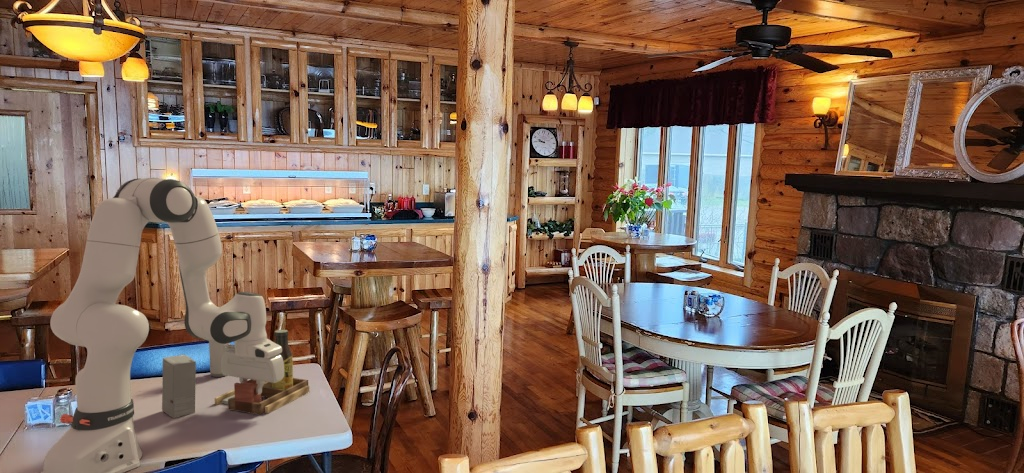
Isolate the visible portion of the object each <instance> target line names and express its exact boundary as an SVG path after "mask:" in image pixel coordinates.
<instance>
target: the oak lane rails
mask: <svg viewBox="0 0 1024 473" xmlns="http://www.w3.org/2000/svg"><path fill="white" fill-rule="evenodd" d="M308 392H309V393H310V385H308V386H305V387H303V388H301V389H299V390H297V391H295V392H293V393H291V394H289V395H287V396H285V397H283V398H281V399H279V400H277V401H275V402H273V403H271V404H269V405H267V406H265V412H264V414H270V413H272V412H274V411H276V410H278V409H280V408H281V407H284V406H286V405H287V404H290V403H291V402H293V401H295V400H297V399H298V398H301V397H303V396H305V395H307V394H309V393H308ZM306 393H307V394H306ZM233 395H235V390H234V389H232V390H229V391H227V392H225V393H223V394H221V395H218V396H215V397H214V405H215V406H218V404H219V405H220V404H223V403H222V400H224V399H226V398H228V397H230V396H233ZM302 395H303V396H302Z"/></svg>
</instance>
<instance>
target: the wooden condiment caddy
mask: <svg viewBox="0 0 1024 473" xmlns="http://www.w3.org/2000/svg"><path fill="white" fill-rule="evenodd" d="M233 384H234V385H233V386H234V389H233V390H235V396H234V397H232V398H230V399H228V404H227V406H228V410H232V411H238V412H241V413H242V412H243V413H249V414H253V415H261V414H263V413H265V406H267V405H269V404H271V403H273V402H275V401H277V400H279V399H281V398H283V397H285V396H287V395H289V394H291V393H293V392H295V391H297V390H299V389H301V388H303V387H305V386H309V380H308V379H303V378H298V377H293V386H292V387H290V388H288V389H286V390H283V389H277V388H272V382H265V383H264V385H263V387H262V393H261V394H259V395H258V394H254V388H256V387H257V385H258V384H257V383H256V380H252V379H247V381H246V382H244V383H241V382H235V383H233ZM262 397H263V398H266V399H264V400H262Z"/></svg>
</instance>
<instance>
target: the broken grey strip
mask: <svg viewBox="0 0 1024 473" xmlns="http://www.w3.org/2000/svg"><path fill="white" fill-rule="evenodd" d="M234 396H235V395H233V396H230V397H228V398H226V399H224V400H222V403H221V404H223V403H224V404H225V405H228V399H230V398H232V397H234Z"/></svg>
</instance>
